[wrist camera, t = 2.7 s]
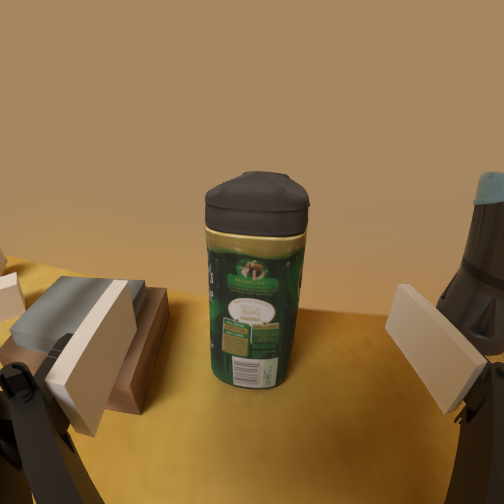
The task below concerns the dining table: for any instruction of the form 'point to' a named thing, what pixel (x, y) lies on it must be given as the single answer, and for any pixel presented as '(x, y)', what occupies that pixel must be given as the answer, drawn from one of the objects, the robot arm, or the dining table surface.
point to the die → (2, 263)
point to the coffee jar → (254, 275)
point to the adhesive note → (11, 297)
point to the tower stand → (70, 318)
